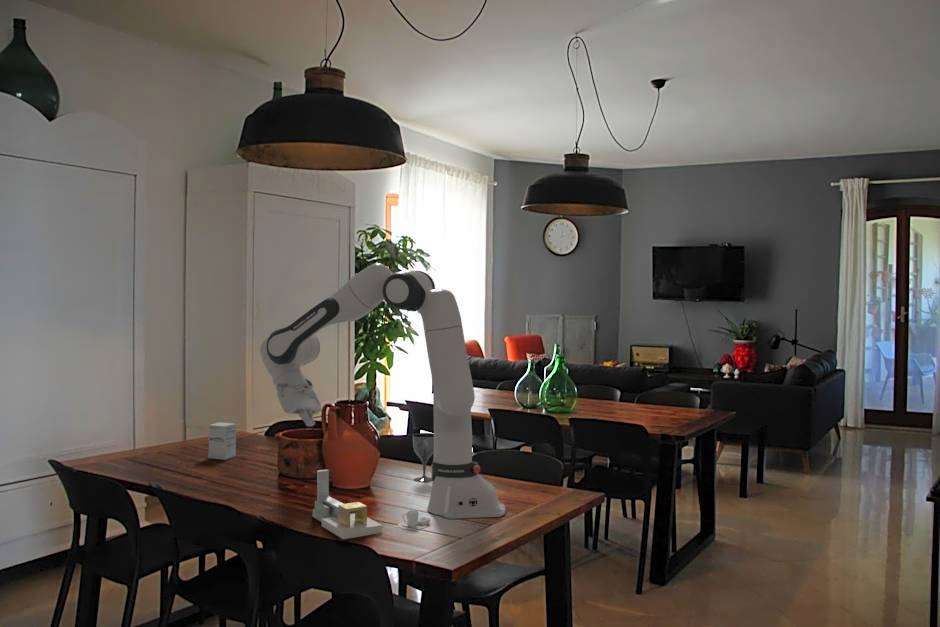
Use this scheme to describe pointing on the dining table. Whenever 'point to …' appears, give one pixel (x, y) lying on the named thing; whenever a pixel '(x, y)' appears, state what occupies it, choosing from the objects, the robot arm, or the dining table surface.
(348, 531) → the white base plate
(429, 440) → the wine glass
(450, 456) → the robot arm
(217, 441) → the supplement box
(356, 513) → the block
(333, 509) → the grey l-shaped piece
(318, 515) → the grey blocky piece
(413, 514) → the teacup and saucer
